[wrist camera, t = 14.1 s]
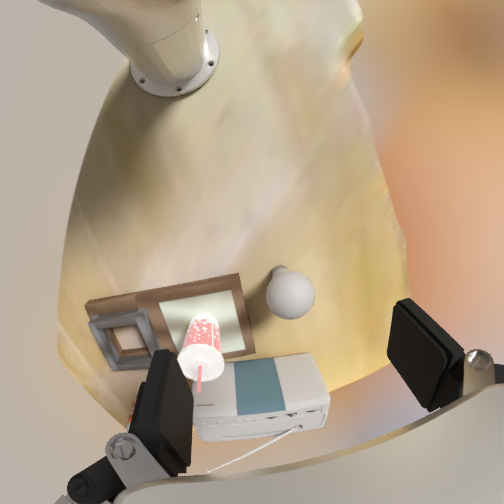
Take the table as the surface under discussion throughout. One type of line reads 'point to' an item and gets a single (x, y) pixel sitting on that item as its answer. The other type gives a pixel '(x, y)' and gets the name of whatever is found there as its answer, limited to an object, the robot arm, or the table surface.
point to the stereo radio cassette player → (261, 400)
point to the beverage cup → (202, 351)
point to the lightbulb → (289, 293)
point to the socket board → (171, 319)
